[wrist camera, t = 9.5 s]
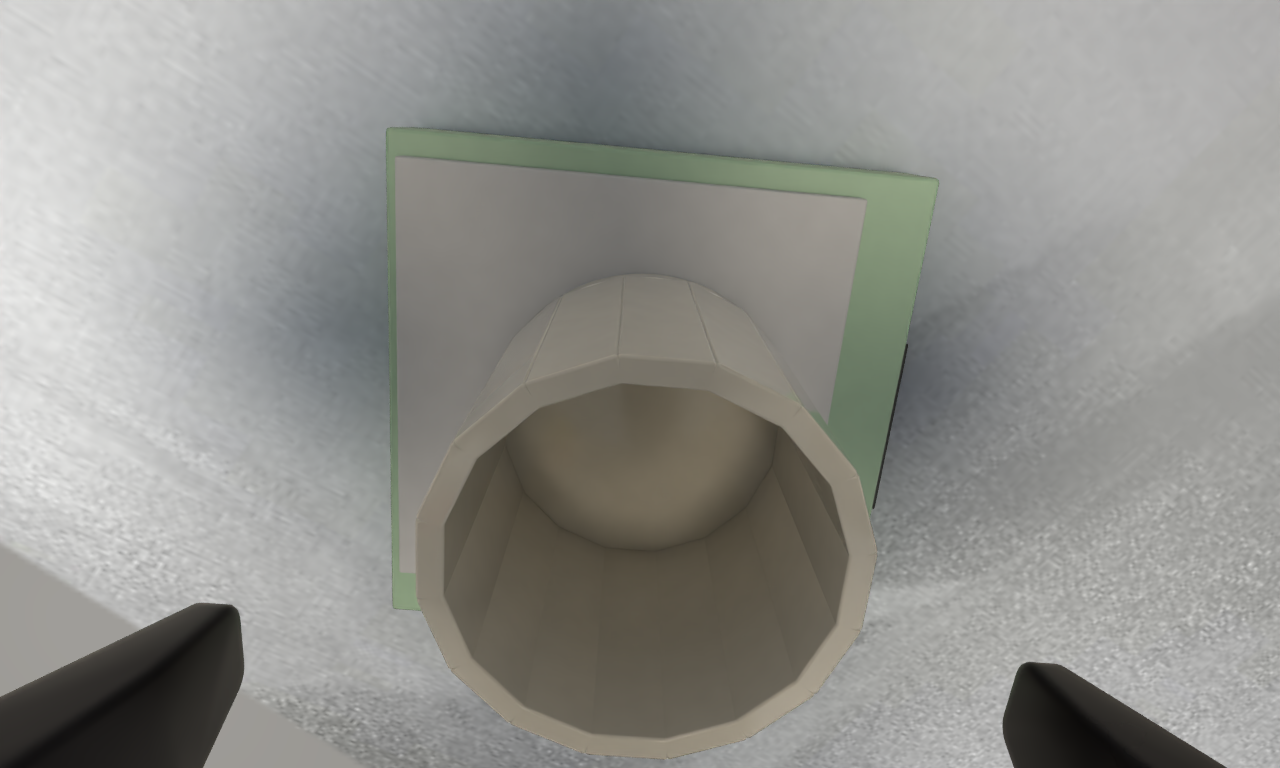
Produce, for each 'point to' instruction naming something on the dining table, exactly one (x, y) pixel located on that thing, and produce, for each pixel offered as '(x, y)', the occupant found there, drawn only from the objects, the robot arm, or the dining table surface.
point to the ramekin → (644, 528)
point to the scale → (643, 244)
